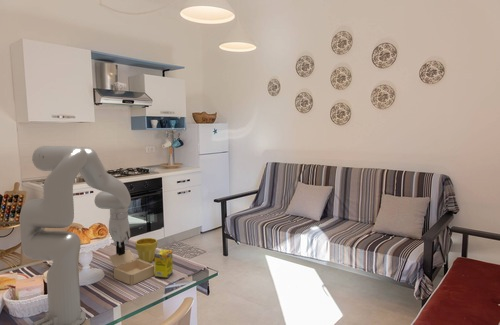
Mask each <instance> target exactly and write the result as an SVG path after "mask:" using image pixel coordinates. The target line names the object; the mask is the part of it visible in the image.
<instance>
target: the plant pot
mask: <svg viewBox="0 0 500 325" xmlns="http://www.w3.org/2000/svg"><path fill="white" fill-rule="evenodd" d="M134 246H135V250H136V252H137V255H138V256H137V257H138V259H140V260H143V261H146V262H149V263H151V262H153V261H155V253H156V250H157V248H158V239H156V238H154V237H153V238H152V237H143V238H139V239H137V240H136V241H135V245H134Z"/></svg>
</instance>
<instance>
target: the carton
mask: <svg viewBox="0 0 500 325" xmlns="http://www.w3.org/2000/svg"><path fill="white" fill-rule="evenodd" d="M153 276H154V277H155V263H151V262H146V261H143V260H140V259H139V258H138V259H136V258H135V260H133V261H130V262H127V263H125V264H122V265H120V266H117V267H113V279H115V280H118V281H120V282H122V283H125V284H127V285H130V286H134V285H136V284H139V283H140V282H143V281H145V280H147V279H149V278H151V277H153Z"/></svg>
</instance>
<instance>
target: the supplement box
mask: <svg viewBox="0 0 500 325" xmlns="http://www.w3.org/2000/svg"><path fill="white" fill-rule="evenodd" d="M173 266H174V265H173V250H172V249H159V250H158V251H157V252H155V255H154V277H155V278H157V279H164V280H165V279H166V280H167V279H168V278H169V277H170V276H172V275H173V273H174V272H173Z"/></svg>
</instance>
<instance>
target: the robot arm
mask: <svg viewBox="0 0 500 325" xmlns="http://www.w3.org/2000/svg"><path fill="white" fill-rule="evenodd" d="M32 164H33V165H34V167H35V168H36V169H38V170H40V171H43V172H45V171H46V172H50V173H49V174H48V175H47V177H46V178H45V180H44V182H43V186H42V187H43V188H42V189H43V193H42V194H43V195H42V196H43V198H32V199H29V200H28V201H26V202H25V203H24V204H23V205H22V207H21V210H20V214H19V229H20V240H21V241H20V242H21V250H22V253H23V255H24V256H25V257H26V258H28V259H30V260H40V261H45V260H46V261H51V262H52V264H51V265H50V267H49V269H48V270H47V273H46V288H47V290H46V291H47V306H48V307H47V308H48V311H47V312H45V313H44V314H45V316H43V317H42V318H41V319H38V320H36V321H34V322H33V323H32V325H81V324H83V323H85V320H86V318H87V314H86V312H85V311H84V310H83V309H82V308H81V294H80V292H81V291H80V273H79V272H80V269H79V261H80V252H81V251H80V250H81V247H82V246H81V245H82V242H81V238H80V236H79V235H78V234H76V233H75V232H72V231H69V230H67V231H66V230H47V229H65V228H68V227H70V226H71V225H72V224H73V222H74V218H75V206H74V205H75V204H74V183H75V180H76V179H77V176H79V174H80V175H81V177H82V178H83V180H84V182H85V183H86V185H87V186H88V187H90V188H92V189H95V190H98V191H100V192H98V193H97V194H96V195H95V198H94V204H95V206H96V207H97V209H103V210H109V220H108V234H109V233H110V235H111V237H112V239H111V240H112V241H114V245H115V250H116V251H115V252H116V254H118V255H119V256H120V255H123V254H125V251H126V246H127V244H129V243H130V242H129V240H130V238H131V230H130V228H131V227H130V221H129V210H128V209H129V207H130V205H131V202H132V200H131V194H130V191H129V190H128V188H127V186H126V185H125V184H124V182H122V181H121V180H119V179H118V178H116V177H115V176H113V175H112V174H111V173H110V174H109V173H108V172H107V170H106V169H105V166H104V164H103V162H102V161H101V159H100V157H99V155H98V154H97V152H96V150H94V149H93V148H91V147H86V146H84V147H83V146H71V145H42V146H39V147H37V148H36V149H35V150H34V151H33V154H32Z"/></svg>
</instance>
